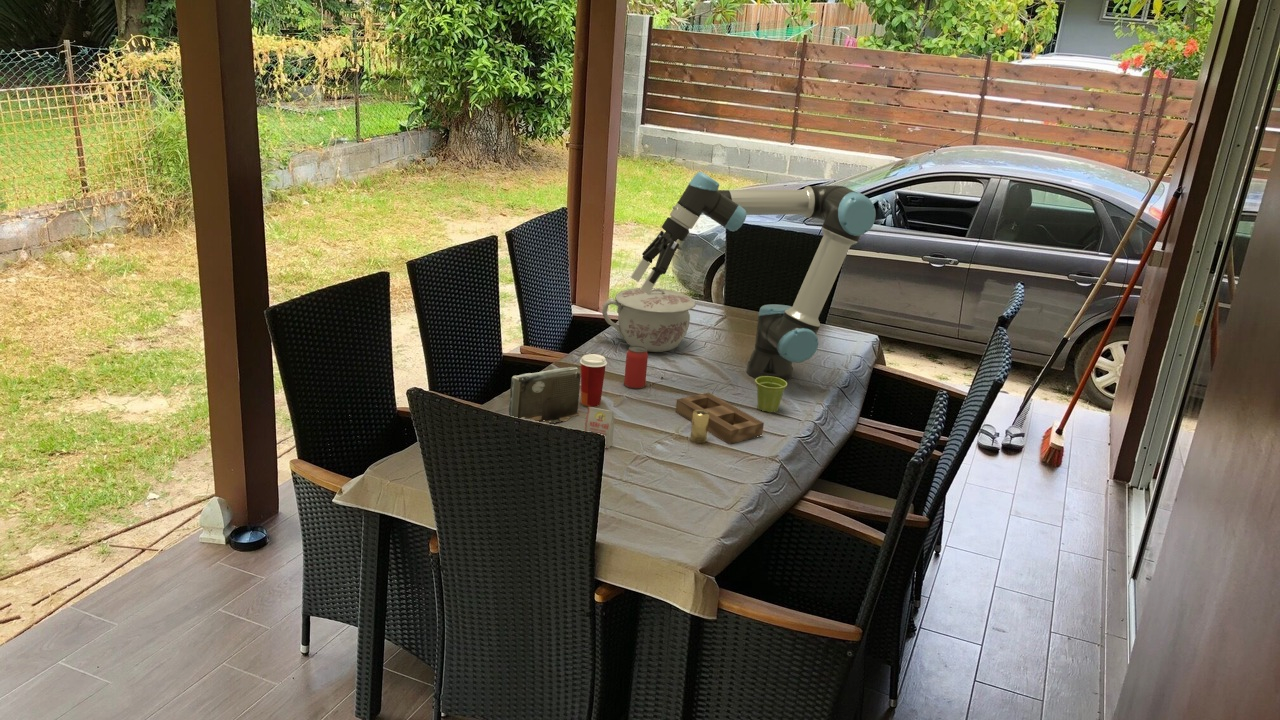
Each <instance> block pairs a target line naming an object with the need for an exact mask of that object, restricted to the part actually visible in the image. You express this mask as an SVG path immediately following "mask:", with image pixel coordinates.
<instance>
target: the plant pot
mask: <svg viewBox="0 0 1280 720" xmlns="http://www.w3.org/2000/svg"><path fill="white" fill-rule="evenodd" d="M754 381H755V385H756V389H757V390H756V391H757V393H756V394H757V395H756V396H757V409H758V408H759V409H758V410H760V411H761V410H762V412H767V413H775V412H774V411H776V412H778V411H779V408H780V404H781V402H782V397H783V393H784V391H785V390H786V387H787V386H788V382H787V381H785V380H783V379H780V378H777V377H772V376H762V377H758V378H754Z"/></svg>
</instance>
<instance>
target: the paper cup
mask: <svg viewBox="0 0 1280 720" xmlns="http://www.w3.org/2000/svg"><path fill="white" fill-rule="evenodd" d="M579 363H580V373H581V377H580V402H581V403H580V404H582V405H583V406H584V407H587V408H588V407H593V408H597V407H598V405H599V406H601V401H602V393H603V389H604V388H603V387H604V379H605V373H606V366H607V364H608V361H607V360H606V357H605V356H603V355H600V354H594V353H588V354H584V355H582V357H581V359H580V360H579Z"/></svg>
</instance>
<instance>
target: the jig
mask: <svg viewBox="0 0 1280 720" xmlns="http://www.w3.org/2000/svg"><path fill="white" fill-rule="evenodd" d="M695 410H705V411H707V412H709V421H708V430H707V432H708V431H709V432H708V433H709V434H712V435H714V436H715V437H716V438H718V439H720V440H722V441H723V442H725V443H726V442H727V444H728V445H732V444H735V442H736V443H740V442H744V441H747V439H748V440H752V439H755V438H754V437H756V438H758V437H757V436H760V435H762V436H763V431H764V424H765V423H764V422H763V421H762V420H760V419H757V418H756V417H754V416H753V415H751V414H748V413H747V412H745V411H743V410H741V409H740V408H738V407H736V406H734V405H732V404H731V403H728V402H727V401H725V400H723V399H721V398H720V397H718V396H716V395H714V394H713V393H710V392H704V393H700V394H695V395H691V396H686V397H681V398H677V399H676V404H675V413H676V414H678V415H680V416H682V417H683V418H685V419H687V420H688V421H690V422H691V421H692V418H693V411H695ZM760 437H761V436H760ZM751 438H752V439H751ZM743 440H744V441H743ZM739 441H740V442H739Z"/></svg>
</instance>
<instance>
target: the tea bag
mask: <svg viewBox="0 0 1280 720" xmlns="http://www.w3.org/2000/svg"><path fill="white" fill-rule="evenodd" d="M614 428H615V420H614V411H613V410H609V409H603V408H599V407H588V406H587V414H586V418H585V423H584V432H585V431H591V432H594V433H600V434H603V435H605V436H606V448H605V449H607V447H608V449H607V450H609V449H610V448H611V446H612V445H613V443H614V442H613V441H614V430H615V429H614Z"/></svg>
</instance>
